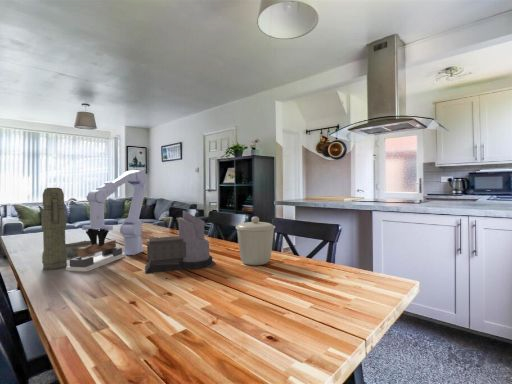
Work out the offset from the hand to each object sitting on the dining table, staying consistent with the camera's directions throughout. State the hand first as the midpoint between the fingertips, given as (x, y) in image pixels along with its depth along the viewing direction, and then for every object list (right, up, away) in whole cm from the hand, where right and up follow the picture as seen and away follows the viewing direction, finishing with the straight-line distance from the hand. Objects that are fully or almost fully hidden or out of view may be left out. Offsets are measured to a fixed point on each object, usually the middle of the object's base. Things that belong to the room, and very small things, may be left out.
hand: (97, 245), depth 130 cm
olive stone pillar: (-15, -9, -6) cm, 19 cm away
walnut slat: (0, -3, 0) cm, 3 cm away
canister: (+73, -8, -2) cm, 73 cm away
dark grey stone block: (-22, -8, +15) cm, 28 cm away
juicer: (+40, -8, -6) cm, 41 cm away
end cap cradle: (0, -8, 0) cm, 8 cm away
